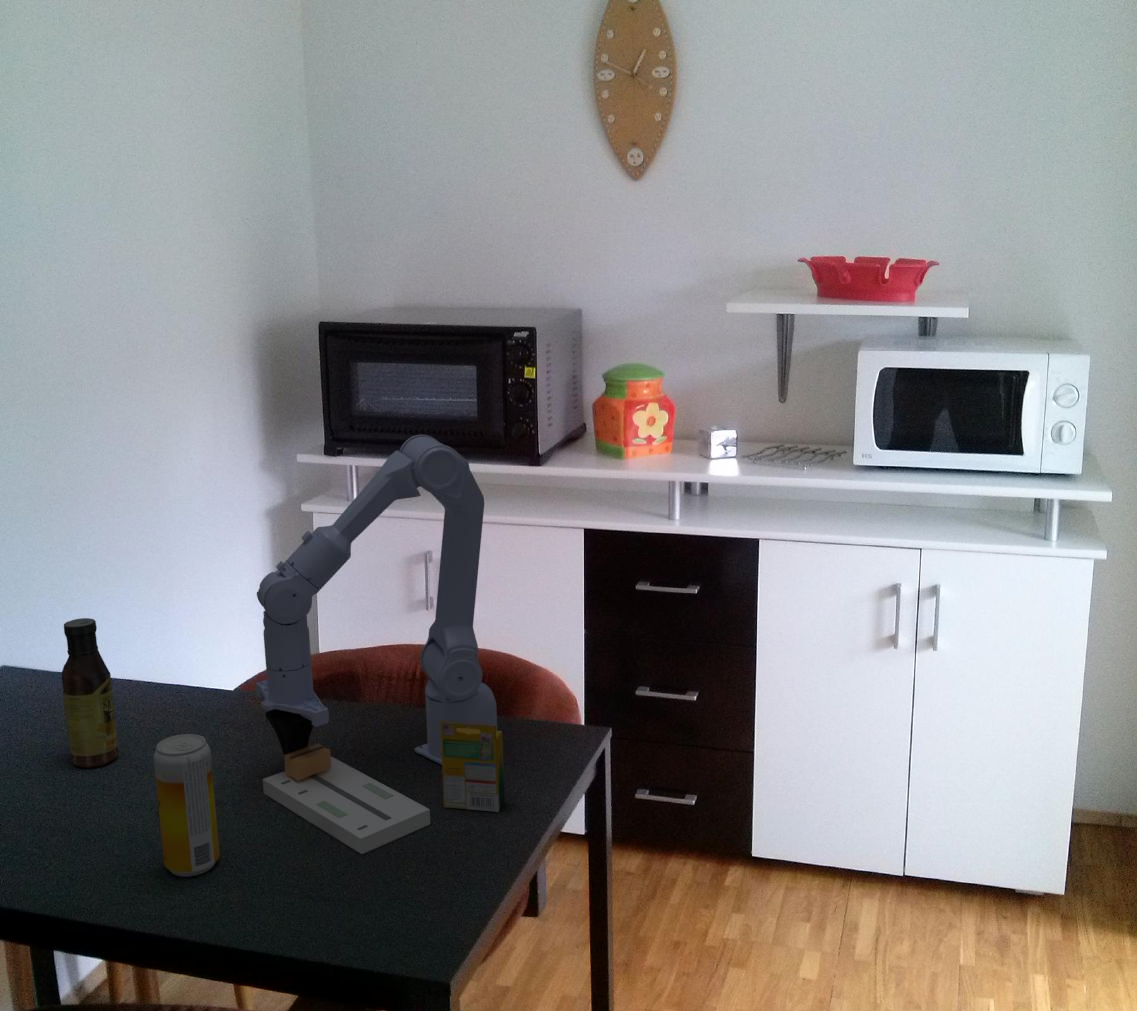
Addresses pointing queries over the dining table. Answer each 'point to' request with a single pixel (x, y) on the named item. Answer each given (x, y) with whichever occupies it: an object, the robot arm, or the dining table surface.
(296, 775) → the fader knob
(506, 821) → the dining table surface
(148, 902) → the dining table surface
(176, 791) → the beer can
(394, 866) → the dining table surface
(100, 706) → the sauce bottle
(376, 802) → the fader console
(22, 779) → the dining table surface
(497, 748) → the crayon box
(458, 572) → the robot arm
